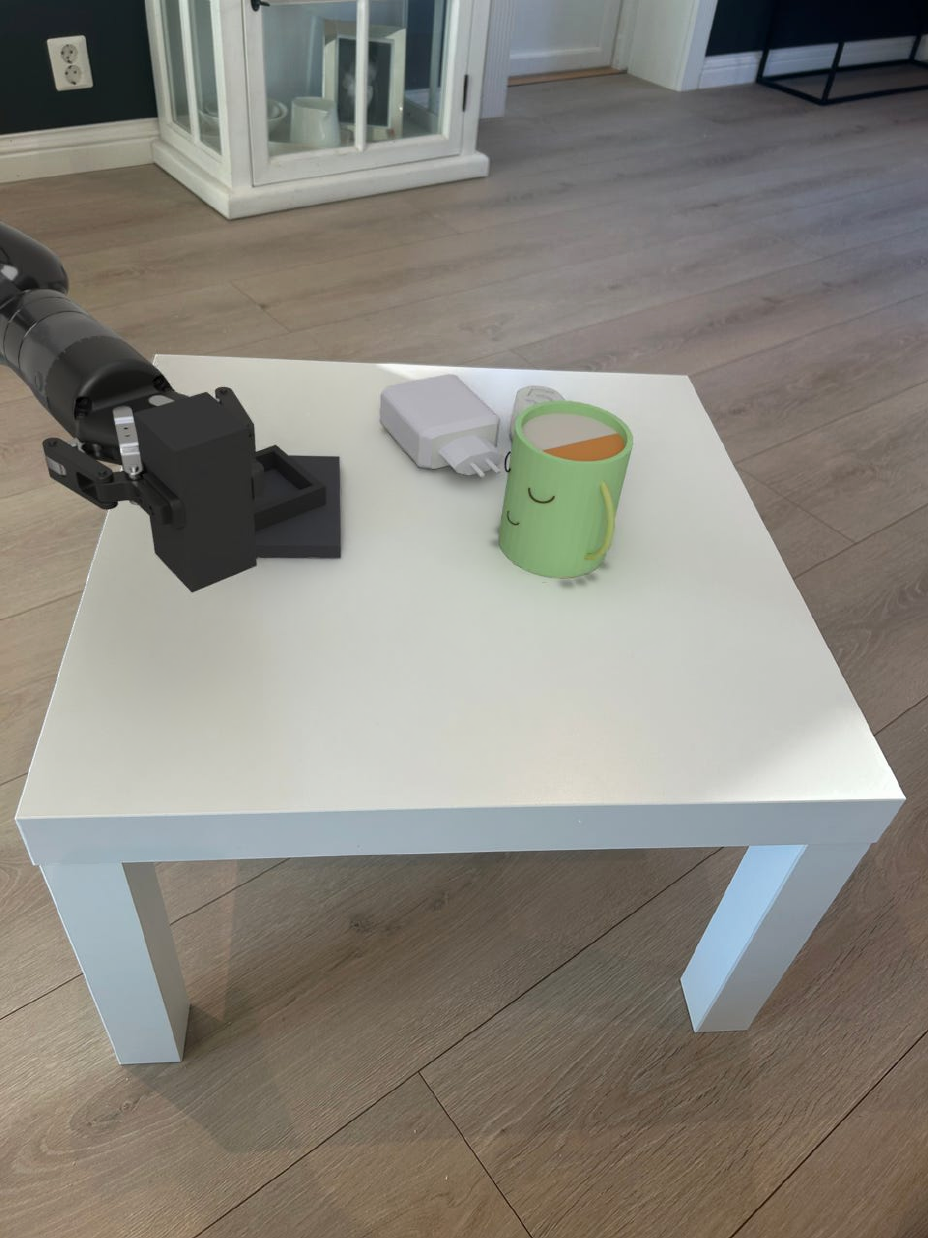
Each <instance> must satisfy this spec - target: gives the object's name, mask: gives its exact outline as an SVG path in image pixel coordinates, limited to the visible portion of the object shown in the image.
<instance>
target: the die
mask: <svg viewBox="0 0 928 1238" xmlns="http://www.w3.org/2000/svg"><path fill="white" fill-rule="evenodd" d="M548 401H566V399H565V398H564V396H563V395H562V394H561V392H559V391H557V390H556V389H554V388H551V387H548V386H545V385H528V386H525V387H522V388H521V389H519V390H517V392H516V394H515V398H514V402H513V407H512V413H511V418H510V424H509V432H508V436H509V438H510V439H511V441H512V442H513V435H514V428H515V422H516V419H517V417H518V416H519V414H520V413H521V412H522V411H523V410H525V409H526V408H528V407H530V406H532V405H535V404H538V403H542V402H548Z"/></svg>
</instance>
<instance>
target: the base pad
mask: <svg viewBox="0 0 928 1238" xmlns="http://www.w3.org/2000/svg"><path fill="white" fill-rule="evenodd" d="M340 458H341V457H340V456H339V455H302V454H301V455H300V454H299V455H296V454H288V453H287V452H285V450H283V449H282V448H281V447H279V446H278V445H277V444H274V445H271V446H268V447H264V448H262V449H259V450H256V458H255V459H256V460H257V461H258V462H259V463H261V464H262V465H263V468H264V478H265V488H263V497H261V498H258V499H255V500H253V508H254V524H255V541H256V557H257V559H258V558H259V559H261V558H264V559H265V558H267V559H270V558H271V559H273V558H275V559H341V557H342V554H341V553H342V540H341V539H342V538H341V537H342V535H341V534H342V532H341V531H342V530H341V529H342V527H341V526H342V525H341V466H340V465H341V464H340V463H341V461H340V460H341V459H340Z"/></svg>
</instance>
